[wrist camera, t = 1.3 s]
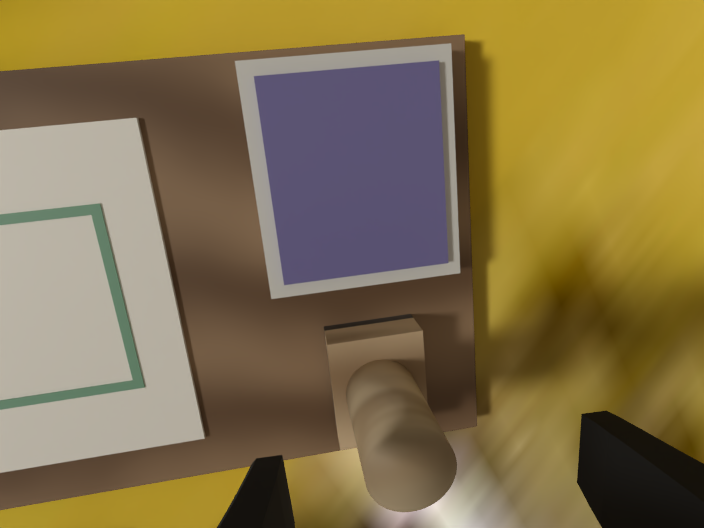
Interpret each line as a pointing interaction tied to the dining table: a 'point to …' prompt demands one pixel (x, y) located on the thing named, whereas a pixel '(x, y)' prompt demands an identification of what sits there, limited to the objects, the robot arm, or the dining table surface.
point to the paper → (86, 300)
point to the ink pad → (353, 166)
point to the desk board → (240, 273)
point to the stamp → (388, 411)
